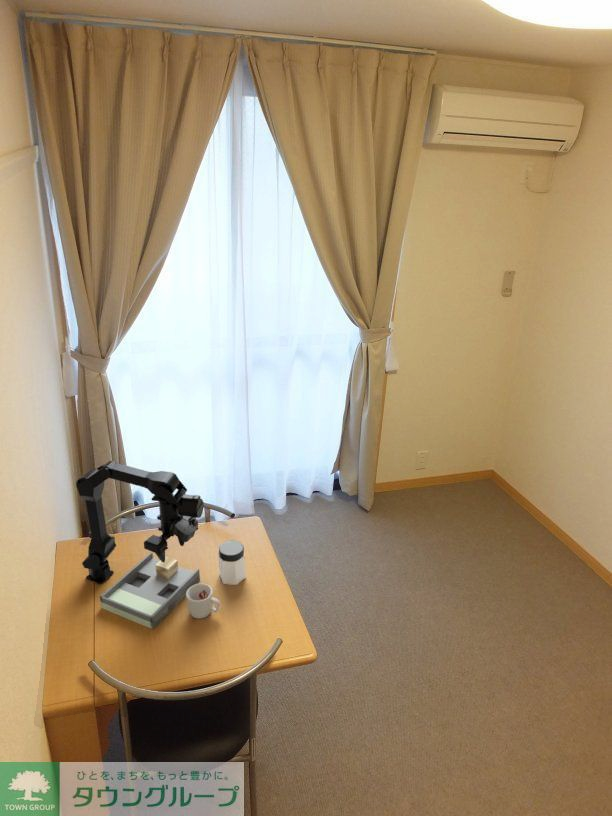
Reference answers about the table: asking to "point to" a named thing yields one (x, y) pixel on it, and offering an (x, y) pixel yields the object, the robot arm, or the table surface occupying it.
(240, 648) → the table surface
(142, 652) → the table surface
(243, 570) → the jar
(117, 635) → the table surface
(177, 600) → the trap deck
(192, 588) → the cup
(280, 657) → the table surface
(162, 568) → the maple block
